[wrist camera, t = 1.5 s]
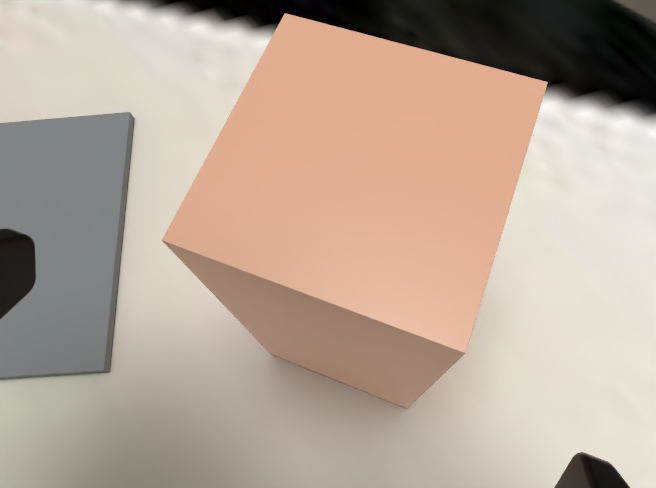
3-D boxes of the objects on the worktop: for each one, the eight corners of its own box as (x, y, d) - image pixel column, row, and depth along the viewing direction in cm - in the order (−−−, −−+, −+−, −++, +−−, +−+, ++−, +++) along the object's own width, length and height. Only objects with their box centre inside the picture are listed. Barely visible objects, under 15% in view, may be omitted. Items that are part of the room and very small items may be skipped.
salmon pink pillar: (406, 408, 19) (465, 352, 8) (271, 354, 21) (161, 240, 9) (451, 275, 21) (547, 82, 10) (324, 231, 22) (285, 13, 11)
